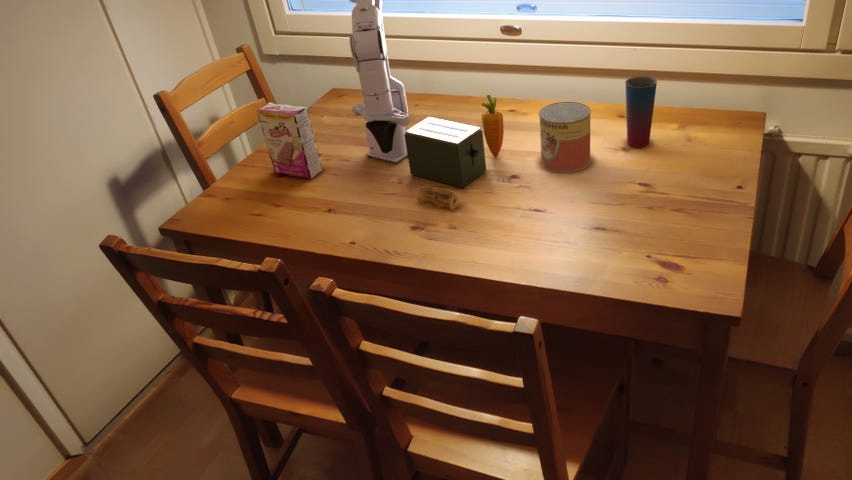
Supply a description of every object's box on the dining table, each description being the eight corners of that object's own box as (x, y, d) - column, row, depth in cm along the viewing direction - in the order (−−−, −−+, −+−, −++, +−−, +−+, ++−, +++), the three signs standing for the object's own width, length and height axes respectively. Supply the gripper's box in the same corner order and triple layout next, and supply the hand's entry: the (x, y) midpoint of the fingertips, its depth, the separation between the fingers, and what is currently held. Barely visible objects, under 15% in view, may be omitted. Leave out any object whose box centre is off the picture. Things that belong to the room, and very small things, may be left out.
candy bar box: (273, 174, 165) (254, 110, 156) (286, 165, 169) (268, 101, 159) (311, 180, 161) (294, 114, 151) (323, 170, 164) (307, 105, 155)
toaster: (410, 176, 158) (403, 131, 152) (434, 160, 164) (428, 116, 157) (467, 191, 150) (462, 144, 143) (490, 173, 156) (486, 127, 149)
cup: (620, 148, 160) (622, 86, 151) (626, 136, 165) (629, 75, 156) (650, 151, 157) (653, 88, 149) (655, 138, 162) (659, 76, 154)
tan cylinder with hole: (461, 204, 146) (459, 187, 143) (450, 213, 143) (448, 196, 140) (428, 197, 149) (426, 181, 147) (418, 206, 146) (415, 190, 144)
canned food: (530, 161, 158) (528, 112, 152) (566, 145, 164) (565, 97, 157) (564, 177, 151) (563, 127, 144) (600, 160, 156) (601, 110, 149)
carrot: (504, 161, 160) (499, 100, 151) (483, 161, 161) (477, 100, 152) (507, 152, 164) (503, 91, 155) (487, 152, 165) (481, 92, 156)
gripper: (337, 92, 141) (350, 152, 149) (389, 103, 134) (400, 165, 142) (360, 80, 146) (371, 139, 154) (412, 90, 139) (422, 151, 146)
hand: (387, 151), depth 148 cm, fingers closed
